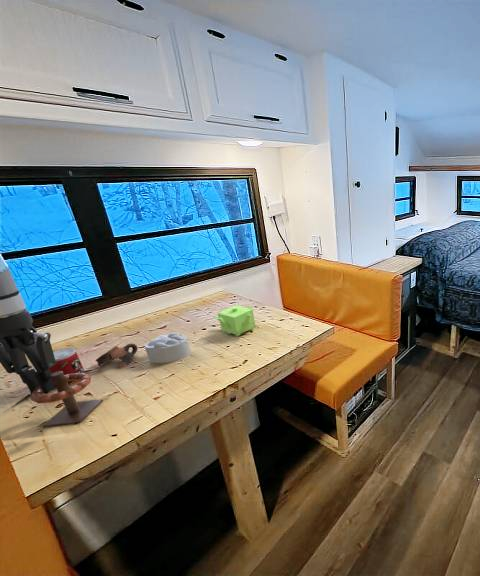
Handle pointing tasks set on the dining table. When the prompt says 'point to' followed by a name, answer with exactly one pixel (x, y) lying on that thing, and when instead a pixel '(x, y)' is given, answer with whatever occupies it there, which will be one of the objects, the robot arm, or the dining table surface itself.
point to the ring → (40, 398)
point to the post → (70, 405)
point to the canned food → (67, 363)
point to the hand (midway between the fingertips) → (44, 391)
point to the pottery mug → (119, 355)
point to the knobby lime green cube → (236, 320)
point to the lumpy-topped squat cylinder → (168, 348)
